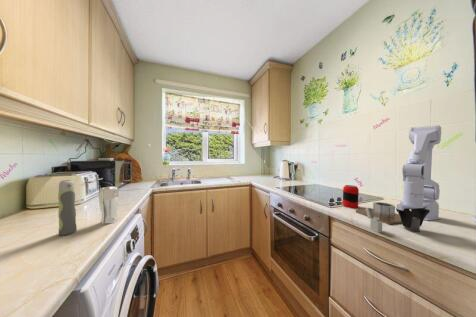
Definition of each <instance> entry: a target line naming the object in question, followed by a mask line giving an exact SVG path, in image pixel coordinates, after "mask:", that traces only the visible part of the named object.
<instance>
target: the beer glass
mask: <svg viewBox="0 0 476 317" xmlns="http://www.w3.org/2000/svg"><path fill="white" fill-rule="evenodd" d="M119 194H120V193H119V186H105V187H104V186H103V187H100V188H99V192H98V195H99V196H98V202H99V207H100V211H101V219H100V220H101V221H100V223H101V224H102V225H110V224H114V223H116V222H118V221H119V218H118V211H117V210H118V207H119V206H118V205H119V201H120V200H119V199H120V198H119V197H120V195H119Z"/></svg>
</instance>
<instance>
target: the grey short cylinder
mask: <svg viewBox="0 0 476 317" xmlns="http://www.w3.org/2000/svg"><path fill="white" fill-rule="evenodd" d="M403 228H404V230H406V231H409V232H413V233H420V228H421V226H420V219H419V218H417V217H413V218H412V222H411V227H410V228H407V227H404V226H403Z"/></svg>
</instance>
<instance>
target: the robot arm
mask: <svg viewBox="0 0 476 317" xmlns="http://www.w3.org/2000/svg"><path fill="white" fill-rule="evenodd" d="M408 138H409V141H410V142H411V144H412V145H413V150H411V151H409V152H408V156H407V159H406V163H405V164H403V166H402V170H401V173H402V181H403V200H401V201H400V203H396V207H395V211H396V213H397V214H399V215H400V218H401V221H402V223H401V224H402V226H403V228H404V227H407V228H410V227H411V222H412V218H413V217H417V218H419V219H420V227H421V226H422V225H423V222H424V221H434V220H435V221H436V220H441V219H442V218H441V217H439V214H440V212H439V211H440V205H439V202H437V201H438V200H439V199H440V185H439V183H437V182H436V181H434V180H433V179H432V163H433V161H432V160H433V149H434V146H436V145H438V144H440V142H442V141H441V140H442V139H441V138H442V126H440V124H438V125H432V126H431V125H430V126H419V127H417V126H416V127H410V128H409V130H408Z"/></svg>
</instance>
